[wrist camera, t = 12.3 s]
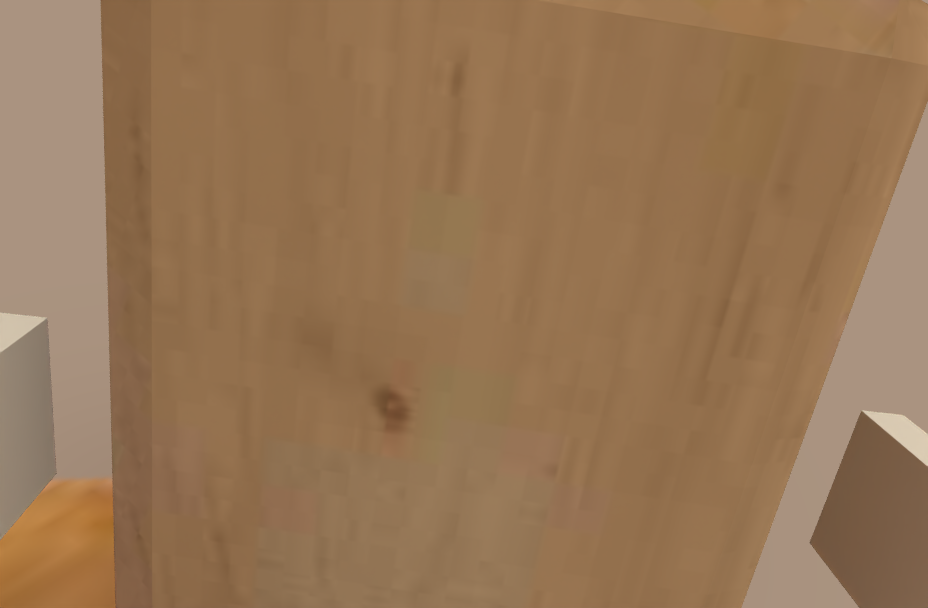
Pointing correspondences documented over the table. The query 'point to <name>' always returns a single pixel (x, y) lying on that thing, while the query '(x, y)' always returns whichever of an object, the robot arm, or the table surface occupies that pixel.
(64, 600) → the table surface
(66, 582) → the table surface
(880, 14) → the wooden block
